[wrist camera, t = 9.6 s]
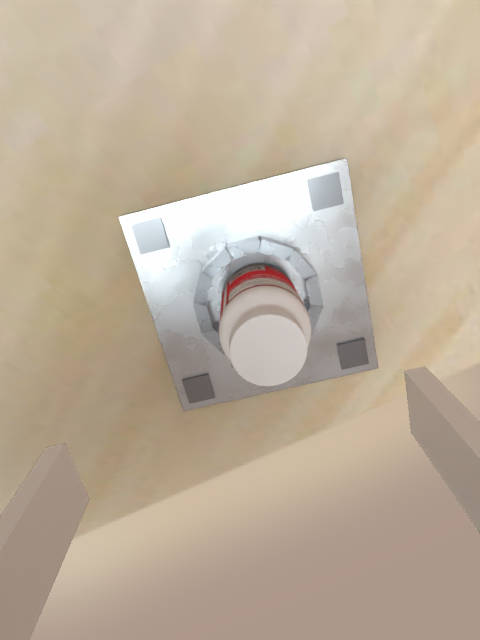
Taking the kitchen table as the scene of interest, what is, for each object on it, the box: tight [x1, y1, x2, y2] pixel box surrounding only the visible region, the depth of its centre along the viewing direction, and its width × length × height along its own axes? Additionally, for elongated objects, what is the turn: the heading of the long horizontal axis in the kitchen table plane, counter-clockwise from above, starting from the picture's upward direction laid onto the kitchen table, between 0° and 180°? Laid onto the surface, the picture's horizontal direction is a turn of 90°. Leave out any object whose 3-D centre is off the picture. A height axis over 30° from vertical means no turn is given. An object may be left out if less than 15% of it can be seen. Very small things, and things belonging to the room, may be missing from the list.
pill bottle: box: [219, 264, 311, 386], centre depth 30 cm, size 6×6×11 cm
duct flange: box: [119, 158, 378, 411], centre depth 35 cm, size 18×18×3 cm
